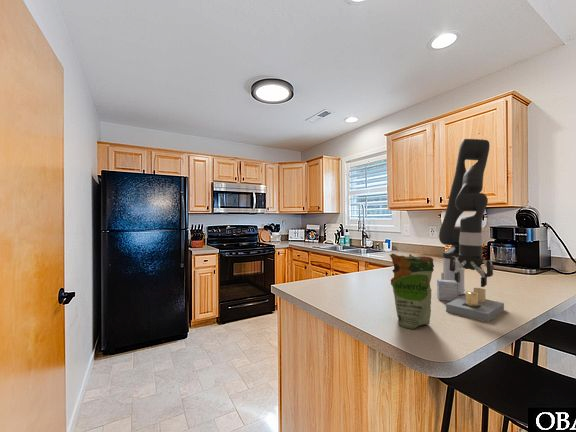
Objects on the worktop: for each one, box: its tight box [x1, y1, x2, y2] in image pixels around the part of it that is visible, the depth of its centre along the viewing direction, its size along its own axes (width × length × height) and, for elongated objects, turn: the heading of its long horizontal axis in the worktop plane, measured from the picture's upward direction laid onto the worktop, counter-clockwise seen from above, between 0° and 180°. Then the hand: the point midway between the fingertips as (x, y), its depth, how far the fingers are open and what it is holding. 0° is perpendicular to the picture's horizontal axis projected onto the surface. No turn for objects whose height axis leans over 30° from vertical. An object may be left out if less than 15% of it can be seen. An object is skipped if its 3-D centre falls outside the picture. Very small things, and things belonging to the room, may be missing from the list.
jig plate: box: [445, 287, 505, 323], centre depth 108 cm, size 14×20×8 cm
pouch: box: [389, 253, 435, 330], centre depth 94 cm, size 11×12×25 cm
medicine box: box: [436, 279, 460, 302], centre depth 122 cm, size 8×4×9 cm, turn 71°
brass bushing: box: [465, 291, 478, 309], centre depth 105 cm, size 4×4×8 cm
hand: (470, 284), depth 106 cm, fingers open, 8 cm apart
